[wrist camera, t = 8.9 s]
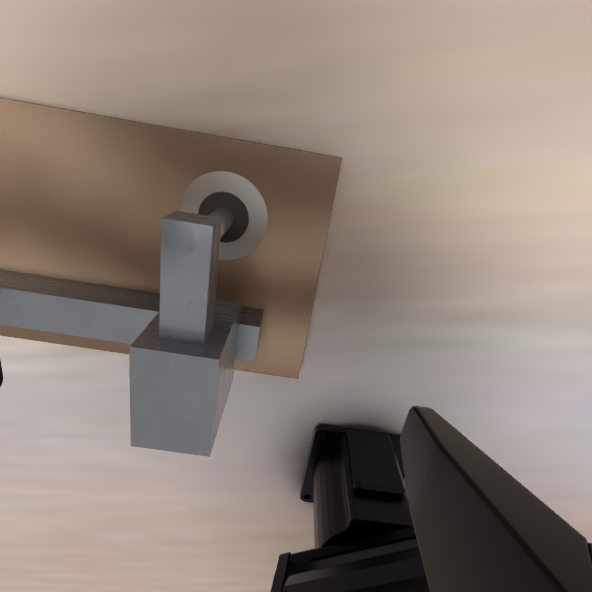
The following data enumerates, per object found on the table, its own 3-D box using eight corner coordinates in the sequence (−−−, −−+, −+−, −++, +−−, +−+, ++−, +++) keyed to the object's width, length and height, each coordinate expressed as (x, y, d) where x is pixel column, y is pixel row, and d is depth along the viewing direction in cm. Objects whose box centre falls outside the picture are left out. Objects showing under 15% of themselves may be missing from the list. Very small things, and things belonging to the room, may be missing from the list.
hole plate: (298, 368, 22) (298, 380, 21) (-137, 304, 21) (-161, 313, 20) (339, 157, 17) (342, 158, 16) (-216, 59, 16) (-253, 54, 15)
